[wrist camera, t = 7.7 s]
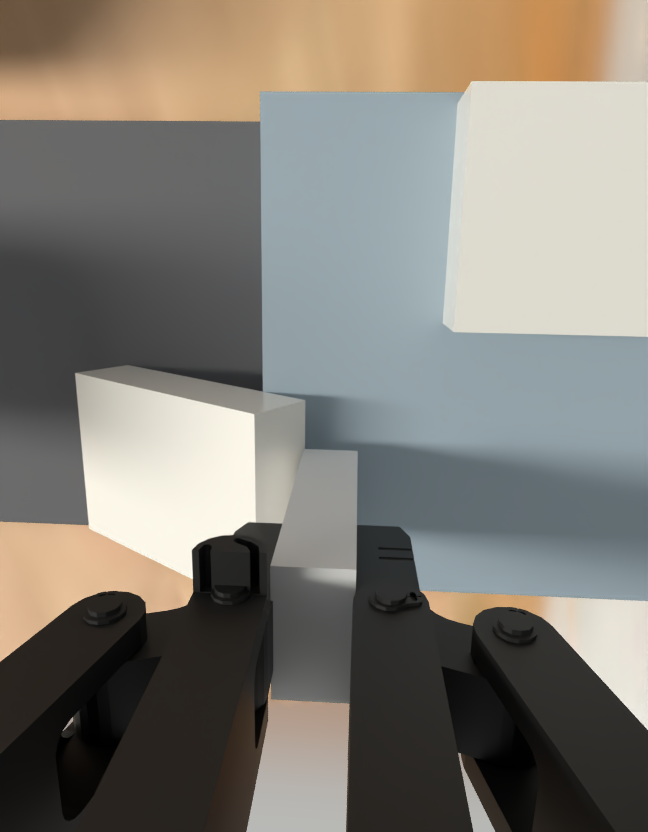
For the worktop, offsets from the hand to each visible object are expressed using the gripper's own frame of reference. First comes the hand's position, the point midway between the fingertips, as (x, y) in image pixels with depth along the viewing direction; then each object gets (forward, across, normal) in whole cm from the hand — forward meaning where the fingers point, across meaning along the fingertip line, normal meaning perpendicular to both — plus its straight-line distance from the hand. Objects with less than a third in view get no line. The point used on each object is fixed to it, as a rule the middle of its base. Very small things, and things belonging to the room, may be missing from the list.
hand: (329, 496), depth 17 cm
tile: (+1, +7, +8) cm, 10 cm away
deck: (+5, +6, +4) cm, 9 cm away
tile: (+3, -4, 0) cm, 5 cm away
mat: (+5, -9, +4) cm, 11 cm away
